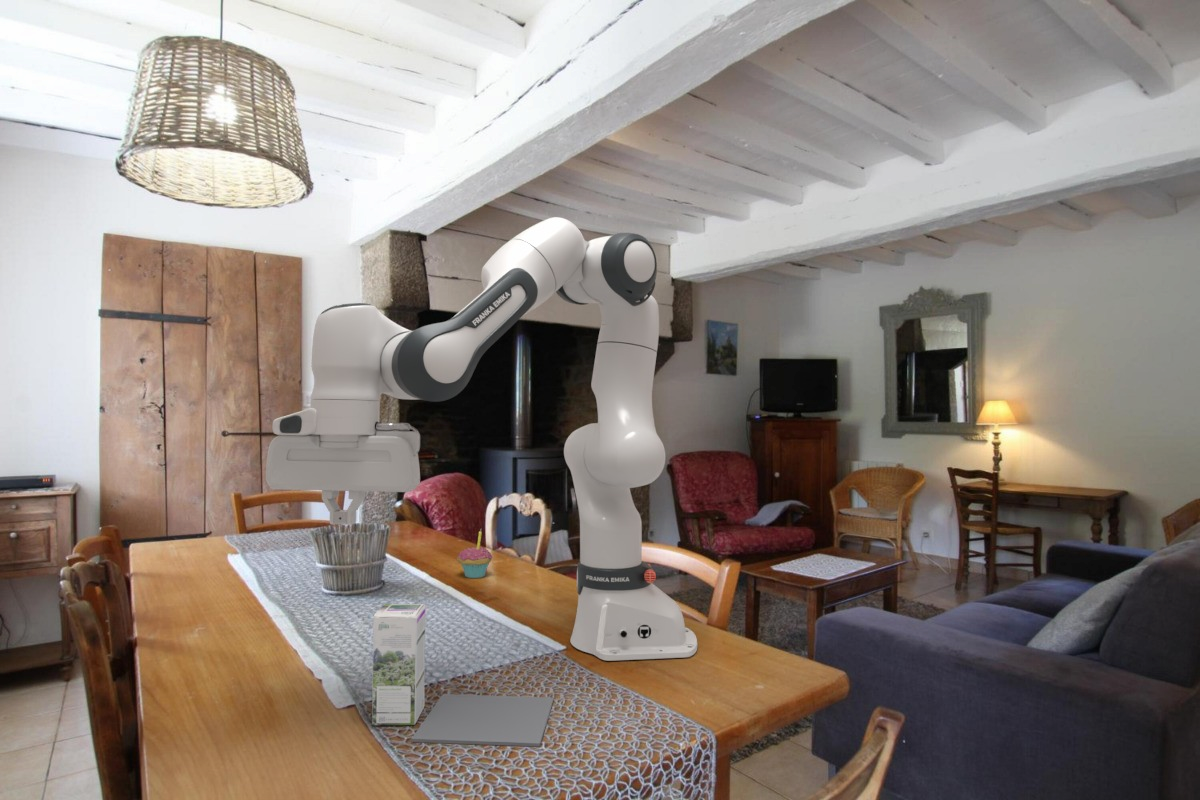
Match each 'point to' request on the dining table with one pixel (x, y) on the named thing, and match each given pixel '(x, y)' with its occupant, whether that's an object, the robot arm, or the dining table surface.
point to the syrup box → (398, 664)
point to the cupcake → (475, 560)
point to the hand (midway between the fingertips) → (342, 524)
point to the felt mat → (486, 720)
